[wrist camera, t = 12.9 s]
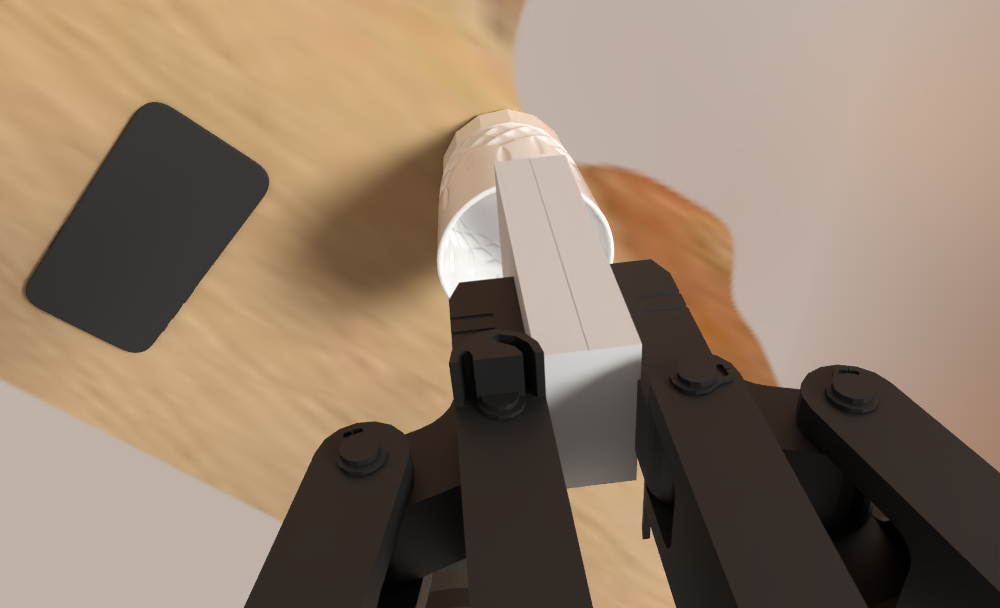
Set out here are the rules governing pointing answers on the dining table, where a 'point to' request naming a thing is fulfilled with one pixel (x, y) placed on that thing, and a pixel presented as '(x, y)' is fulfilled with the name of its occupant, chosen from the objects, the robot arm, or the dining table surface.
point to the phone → (147, 229)
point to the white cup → (491, 193)
